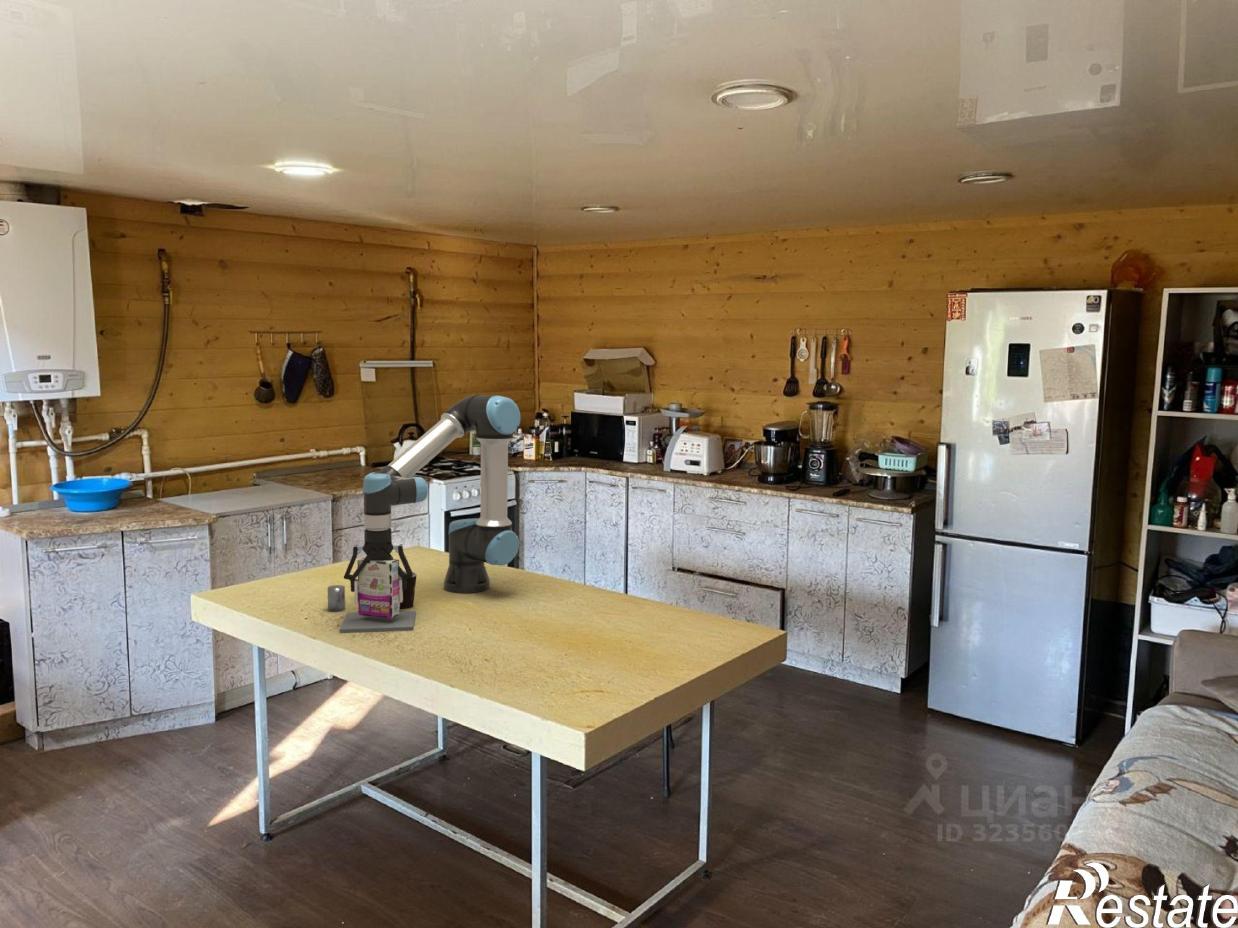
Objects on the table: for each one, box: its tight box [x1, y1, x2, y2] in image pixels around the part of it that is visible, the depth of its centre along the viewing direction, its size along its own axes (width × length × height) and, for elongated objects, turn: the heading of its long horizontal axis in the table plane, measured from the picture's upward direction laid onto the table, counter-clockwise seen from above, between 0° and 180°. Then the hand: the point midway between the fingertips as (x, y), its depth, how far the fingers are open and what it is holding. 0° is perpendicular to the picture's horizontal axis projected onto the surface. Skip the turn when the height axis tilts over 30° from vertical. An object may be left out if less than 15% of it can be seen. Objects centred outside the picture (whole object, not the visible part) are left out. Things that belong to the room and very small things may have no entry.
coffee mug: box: [399, 570, 418, 610], centre depth 277 cm, size 12×9×10 cm
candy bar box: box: [356, 557, 401, 618], centre depth 258 cm, size 11×5×16 cm, turn 73°
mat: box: [339, 610, 417, 634], centre depth 259 cm, size 20×16×1 cm
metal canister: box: [326, 584, 346, 613], centre depth 271 cm, size 5×5×7 cm
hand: (379, 601), depth 259 cm, fingers closed on candy bar box, 12 cm apart
